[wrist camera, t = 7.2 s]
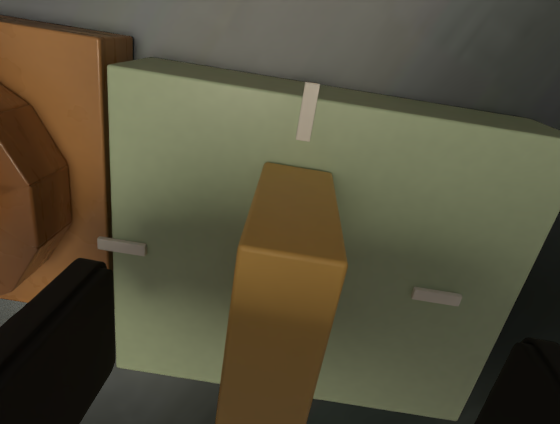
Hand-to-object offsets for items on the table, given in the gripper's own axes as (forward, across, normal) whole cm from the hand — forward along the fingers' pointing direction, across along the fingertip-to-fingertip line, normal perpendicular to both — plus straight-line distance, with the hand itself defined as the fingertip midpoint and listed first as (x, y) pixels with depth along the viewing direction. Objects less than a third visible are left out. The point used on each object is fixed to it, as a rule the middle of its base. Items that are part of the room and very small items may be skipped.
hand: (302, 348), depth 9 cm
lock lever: (+3, +1, 0) cm, 3 cm away
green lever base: (+6, 0, 0) cm, 6 cm away
